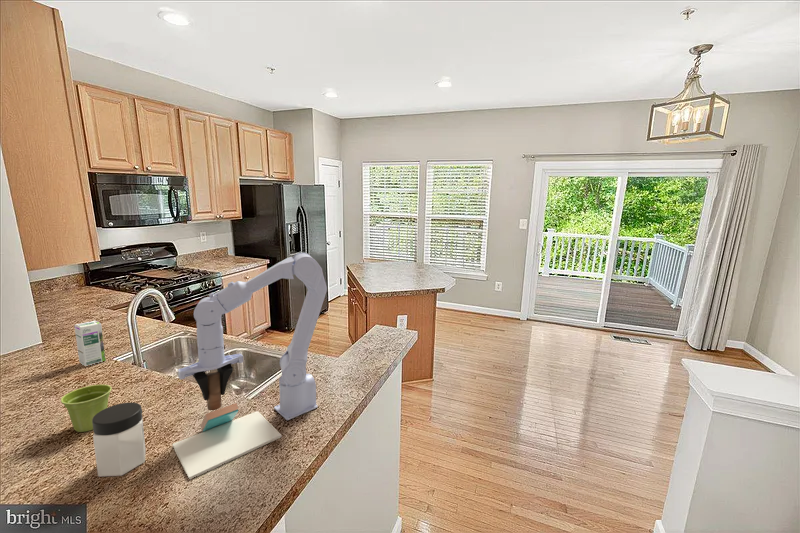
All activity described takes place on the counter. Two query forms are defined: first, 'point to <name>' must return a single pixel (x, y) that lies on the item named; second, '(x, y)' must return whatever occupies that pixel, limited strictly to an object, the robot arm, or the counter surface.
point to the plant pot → (86, 405)
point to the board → (224, 443)
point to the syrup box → (90, 343)
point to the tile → (219, 417)
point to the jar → (119, 439)
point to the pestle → (214, 390)
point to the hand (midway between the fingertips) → (214, 395)
